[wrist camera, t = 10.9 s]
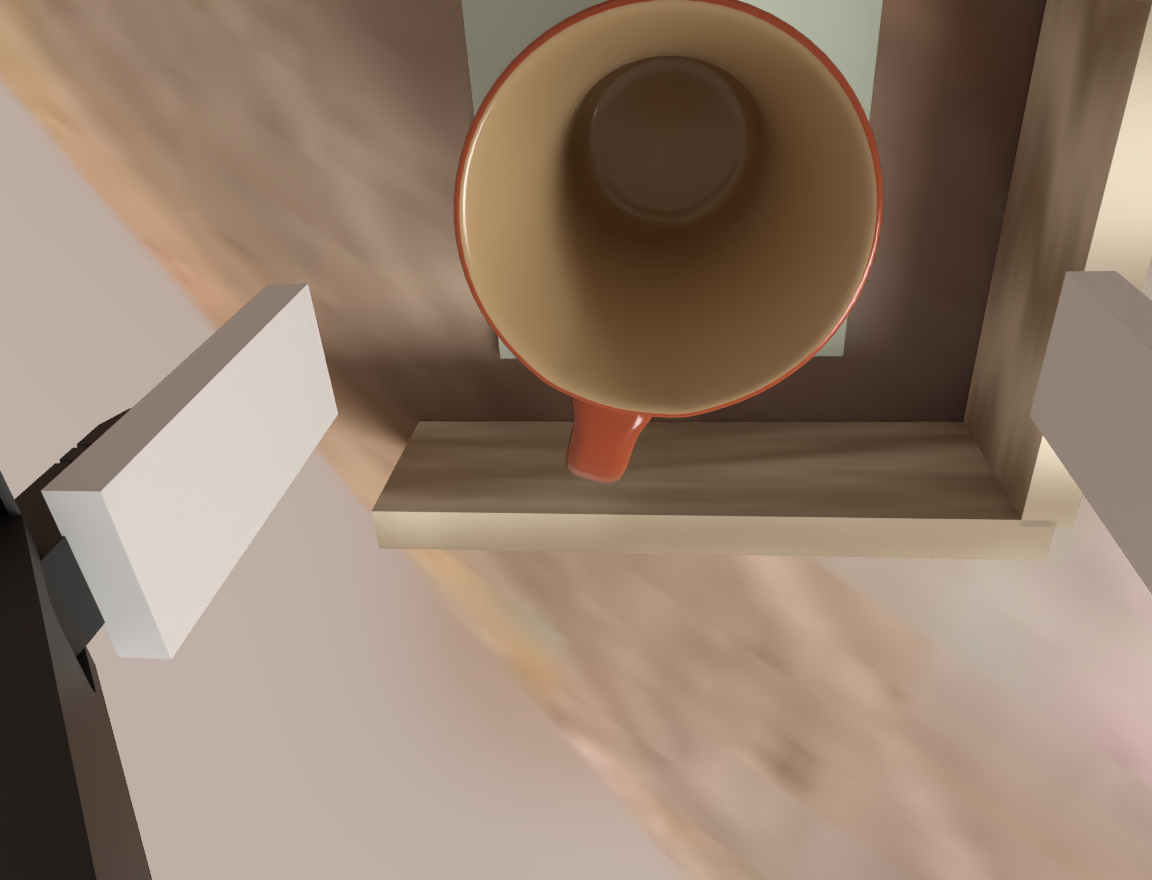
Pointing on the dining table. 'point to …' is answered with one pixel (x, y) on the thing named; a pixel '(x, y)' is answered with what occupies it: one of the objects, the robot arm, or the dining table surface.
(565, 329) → the mug
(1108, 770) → the dining table surface
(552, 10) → the pad
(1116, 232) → the side wall
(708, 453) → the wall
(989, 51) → the dining table surface
